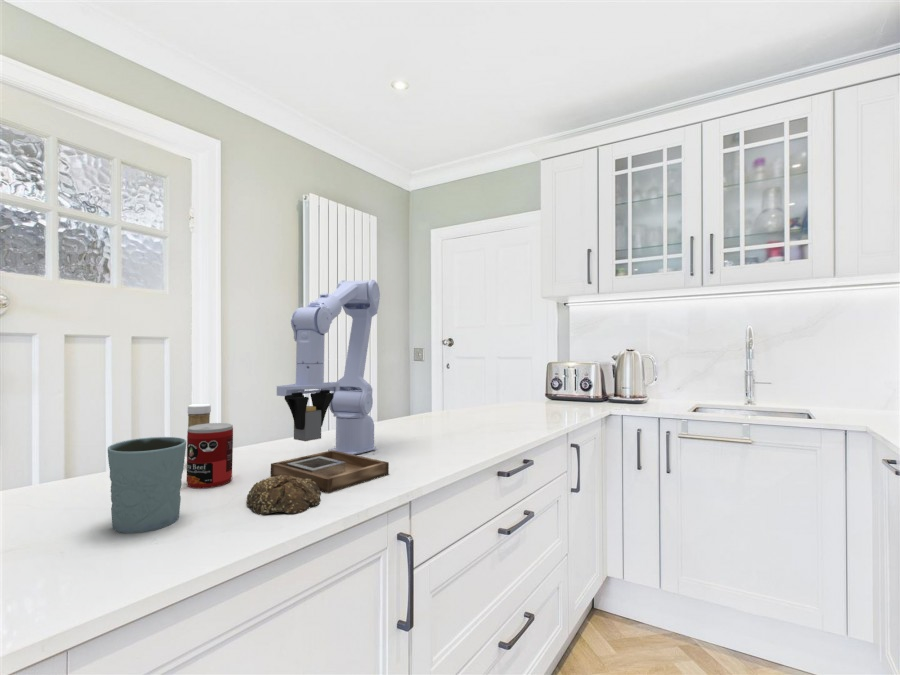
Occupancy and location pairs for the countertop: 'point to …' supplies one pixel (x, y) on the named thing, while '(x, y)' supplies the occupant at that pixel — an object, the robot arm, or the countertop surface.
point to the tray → (355, 473)
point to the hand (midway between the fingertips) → (309, 427)
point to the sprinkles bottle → (198, 414)
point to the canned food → (209, 455)
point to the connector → (310, 425)
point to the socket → (320, 466)
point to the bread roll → (283, 495)
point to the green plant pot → (146, 483)
